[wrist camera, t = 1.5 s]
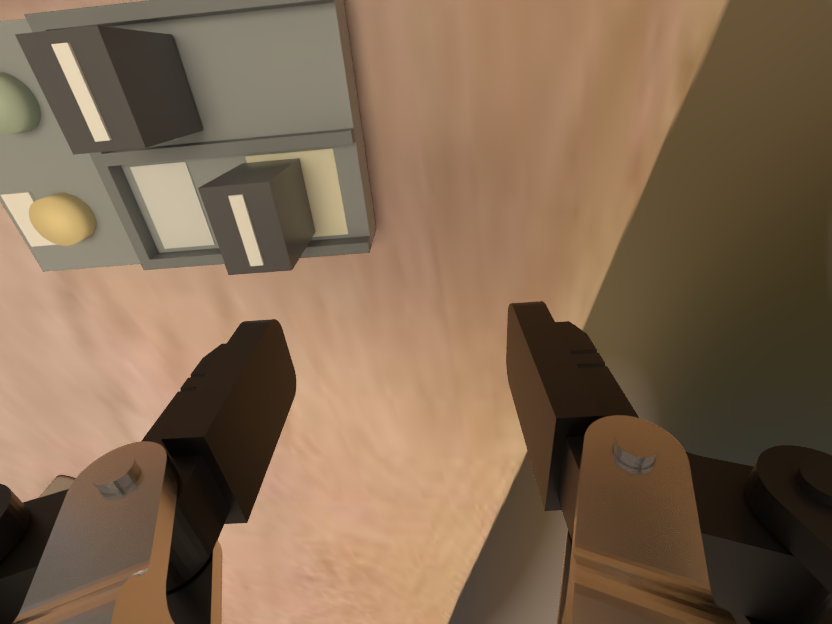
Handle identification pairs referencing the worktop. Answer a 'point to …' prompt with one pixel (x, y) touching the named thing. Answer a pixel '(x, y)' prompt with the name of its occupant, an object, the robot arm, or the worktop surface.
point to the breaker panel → (191, 135)
